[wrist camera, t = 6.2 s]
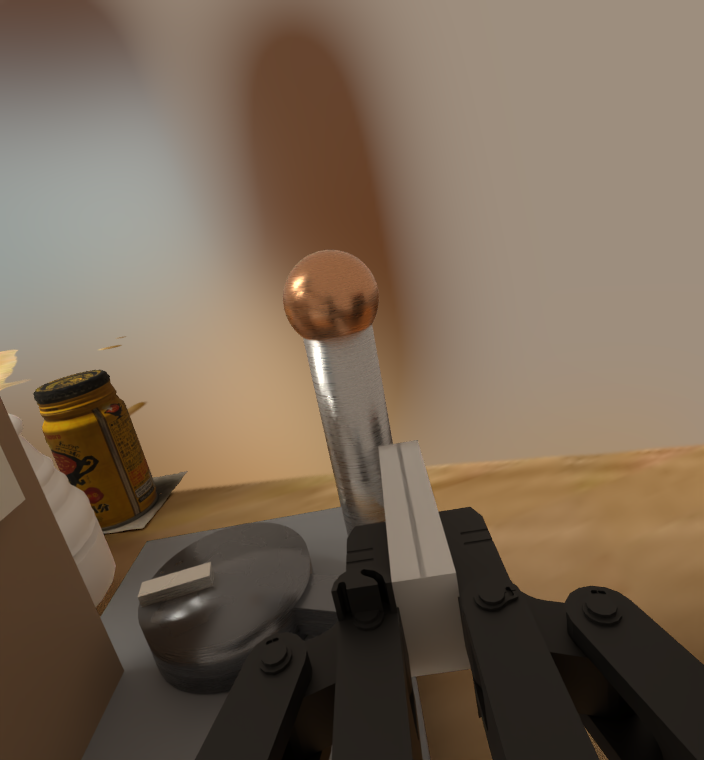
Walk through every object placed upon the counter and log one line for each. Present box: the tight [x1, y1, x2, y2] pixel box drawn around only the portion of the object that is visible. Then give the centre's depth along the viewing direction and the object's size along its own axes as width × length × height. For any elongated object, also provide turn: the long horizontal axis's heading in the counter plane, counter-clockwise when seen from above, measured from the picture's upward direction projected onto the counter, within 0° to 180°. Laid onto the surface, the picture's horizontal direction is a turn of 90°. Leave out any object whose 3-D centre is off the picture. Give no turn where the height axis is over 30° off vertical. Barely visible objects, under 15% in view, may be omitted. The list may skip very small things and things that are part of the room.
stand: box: [0, 398, 431, 760], centre depth 18 cm, size 16×20×20 cm
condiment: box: [34, 370, 187, 534], centre depth 39 cm, size 7×8×12 cm
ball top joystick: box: [138, 250, 393, 694], centre depth 20 cm, size 12×10×16 cm
